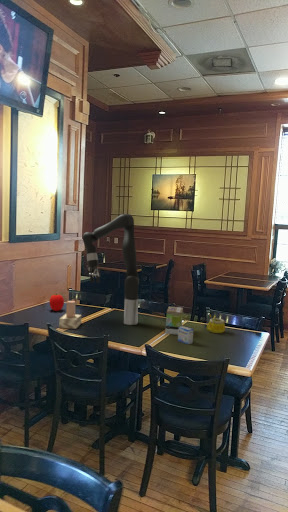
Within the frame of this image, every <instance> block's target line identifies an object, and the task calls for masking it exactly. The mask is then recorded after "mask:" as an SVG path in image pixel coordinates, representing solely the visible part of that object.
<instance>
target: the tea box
mask: <svg viewBox="0 0 288 512" xmlns="http://www.w3.org/2000/svg"><path fill="white" fill-rule="evenodd" d="M183 314H184V308H183V307H181V306H180V307H178V306H168V308H167V310H166V316H165V317H166V320H165V330H164V331H165V334H166V335H177V336H178V332H179V327H181V326H183V317H184V316H183Z"/></svg>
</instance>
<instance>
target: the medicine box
mask: <svg viewBox="0 0 288 512" xmlns="http://www.w3.org/2000/svg"><path fill="white" fill-rule="evenodd" d="M193 338H194V328H190V327H187V326H184V325H182V326H181V327H179V332H178V335H177V341H178V342H179V343H182V344H186V345H191V344H193V340H194V339H193Z"/></svg>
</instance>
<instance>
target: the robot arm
mask: <svg viewBox="0 0 288 512" xmlns="http://www.w3.org/2000/svg"><path fill="white" fill-rule="evenodd" d="M118 229H123V231H124V237H123V241H122V244H121V245H122V247H121V251H122V257H123V261H124V264H125V265H124V266H125V268H126V269H125V270H126V278H125V280H124V291H123V292H124V308H123V310H124V311H123V324H124V325H128V326H133V325H134V326H135V325H138V321H139V320H138V319H139V318H138V317H139V309H138V308H139V285H140V278H139V273H138V264H137V263H138V262H137V249H136V239H135V219H134V216H133V215H132V214H129V213H128V214H127V213H123V214H120V215H118V216H117V217H116V218H114V219H113V220H111V221H109V222H108V223H106V224H104V225H101V226H100V227H97V228H96V229H94V230H93V232H89V231H86V232H84V233H83V235H82V242H83V244H84V247H85V250H86V261H87V277H89V278H90V283H91V284H92V283H94V282H96V283H97V284H98V283H100V282H101V281H100V277H102V276H101V269H100V267H99V258H98V254H97V247H96V245H95V244H93V243H95V242H97V241H98V240H100V239H102V238H103V237H106V236H107V235H109V234H111V233H112V232H114V231H115V230H118ZM94 277H95V279H94Z"/></svg>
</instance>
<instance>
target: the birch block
mask: <svg viewBox="0 0 288 512" xmlns="http://www.w3.org/2000/svg"><path fill="white" fill-rule="evenodd" d="M58 319H59V321H58V322H59V323H58V324H59V325H58V327H59V328H60V329H74V330H77V328H79V326H80V325H81V324H82V314H76V313H75V317H73V318H71V317H66V313H64V314H63V315H62V316H61V317H60V318H58Z"/></svg>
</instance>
